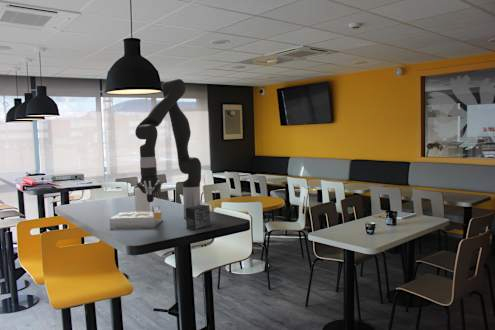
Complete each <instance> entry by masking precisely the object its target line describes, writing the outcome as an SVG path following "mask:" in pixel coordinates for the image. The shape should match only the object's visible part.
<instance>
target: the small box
mask: <svg viewBox="0 0 495 330" xmlns="http://www.w3.org/2000/svg"><path fill="white" fill-rule="evenodd" d="M210 208H211V207H210V205H209V204H201V205H198V206H193V207H188V208H186V219H185V221H186V223H185V224H186V230H191V231H199V230H202V229H205V228H210V227H211V213H210V212H211V211H210V210H211V209H210Z"/></svg>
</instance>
